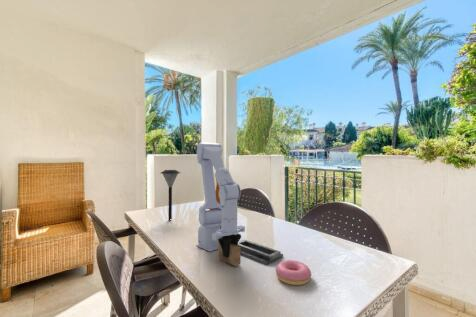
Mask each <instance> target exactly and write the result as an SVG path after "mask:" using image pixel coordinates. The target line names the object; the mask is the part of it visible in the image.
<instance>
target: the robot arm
mask: <svg viewBox="0 0 476 317" xmlns="http://www.w3.org/2000/svg"><path fill="white" fill-rule="evenodd" d="M196 146H197V147H196V158H197V159H196V160H197V163H198V164H200V165H201V166H200V167H201V175H202V183H203V184H202V186H203V196H204V203H203V204H202V205H201V206H200V207H199V209H198V221H199V225H200V226H199V227H198V231H197V243H196V246H197V247H199V248H201V249H204V250H206V251H208V252H212V251H215V250H218V242H219V243H220V245H221V248H222V252H223V256H224V257H226V258H228V257H229V249H230V244H231V243H232V244H234V245H237V244H238V242H240V241H241V238H242V235H241V234H240V233H244V232H246V226H245V225H241V224H239V225H238V200H240V198H241V196H242V195H241V194H242V190H241V187H240V184H239V183H237V182H236V181H234V179H233V177H232V175H231V172H230V170H229V169H228V168H225V164H224V160H223V157H222V155H223V154H222V153H223V146H222V145H221V143H220V142H219V143H218V142H217V143H214V142H213V143H211V142H199V143H198V144H197V145H196ZM214 170H215V173H214ZM216 180H217V181H216ZM215 181H216V184H217V183H218V185H219V188H220V189H219V197H220V204H219V203H218V202H217V201H216V192H215V191H216V185H215ZM210 209H215V210H210ZM220 226H221V230H220Z"/></svg>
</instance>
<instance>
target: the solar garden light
mask: <svg viewBox="0 0 476 317" xmlns="http://www.w3.org/2000/svg"><path fill="white" fill-rule="evenodd" d="M160 174H162V175H163V178H164V180H165V182H166V184H167V186H168V221H171V220H170V219H172V218H173V214H172V213H173V211H172V210H173V185H174V184H175V181H176V179H177V177H178V175H179V174H181V172H180V171H178V170H176V169H165V170H163V171H161V172H160Z"/></svg>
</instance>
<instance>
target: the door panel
mask: <svg viewBox="0 0 476 317" xmlns="http://www.w3.org/2000/svg"><path fill="white" fill-rule="evenodd" d="M240 249H241V247H239V246H237V245H234V244H232V243H231V244H230V249H229V257H228V258H226V257H224V256H223V252H222V248H221V245H220V243H219V242H218V249H217V250H218V251H217V258H218V259H219V260H222V261H223V262H226V263H228V264H230V265H232V266H235V267H237V266H239V265H241V255H240Z"/></svg>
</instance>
